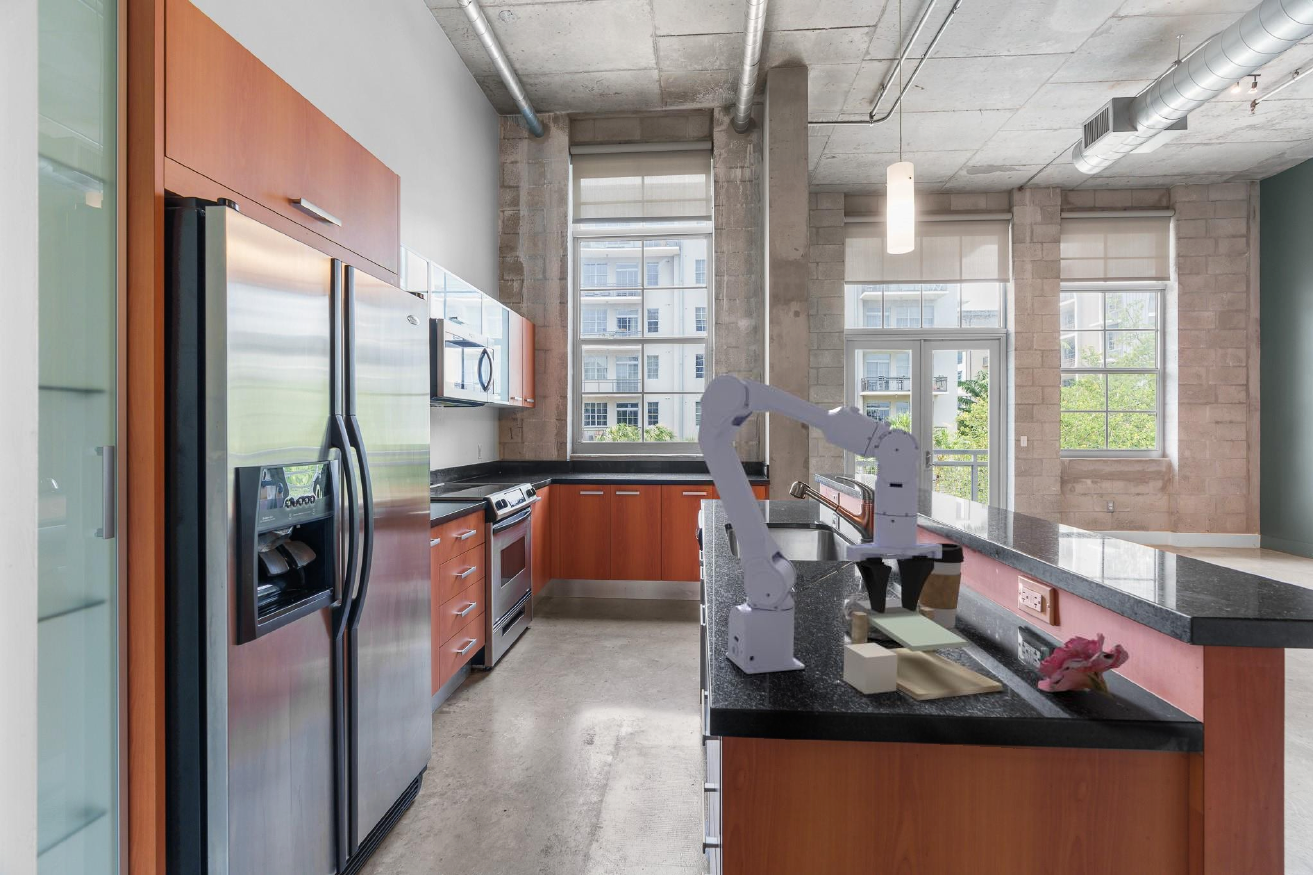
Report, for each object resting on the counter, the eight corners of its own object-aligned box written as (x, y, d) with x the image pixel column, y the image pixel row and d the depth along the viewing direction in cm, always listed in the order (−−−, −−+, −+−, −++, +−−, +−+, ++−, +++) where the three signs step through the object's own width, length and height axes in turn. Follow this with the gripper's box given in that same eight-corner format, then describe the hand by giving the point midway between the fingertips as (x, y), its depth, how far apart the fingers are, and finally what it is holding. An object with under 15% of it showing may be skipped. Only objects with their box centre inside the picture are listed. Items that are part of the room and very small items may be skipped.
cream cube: (865, 694, 83) (866, 657, 83) (843, 680, 88) (844, 645, 88) (896, 691, 85) (897, 654, 85) (873, 677, 90) (874, 642, 90)
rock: (839, 640, 106) (934, 655, 102) (841, 603, 106) (937, 616, 101) (841, 618, 118) (927, 630, 114) (843, 585, 118) (929, 595, 113)
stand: (918, 700, 82) (919, 643, 82) (846, 658, 97) (847, 610, 97) (1001, 690, 86) (1003, 636, 86) (920, 651, 101) (921, 605, 101)
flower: (1028, 711, 87) (1014, 640, 93) (1102, 722, 86) (1084, 649, 92) (1072, 692, 78) (1053, 614, 83) (1156, 703, 77) (1131, 624, 82)
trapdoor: (911, 659, 86) (913, 638, 86) (853, 619, 99) (855, 601, 99) (965, 654, 89) (968, 634, 89) (902, 615, 102) (904, 598, 102)
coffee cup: (968, 632, 112) (971, 549, 112) (919, 629, 113) (921, 547, 113) (954, 619, 120) (956, 542, 120) (908, 616, 121) (910, 539, 121)
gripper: (868, 518, 82) (866, 621, 82) (958, 516, 86) (956, 614, 86) (838, 512, 88) (836, 607, 88) (923, 510, 93) (921, 601, 93)
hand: (893, 610), depth 88 cm, fingers open, 5 cm apart
